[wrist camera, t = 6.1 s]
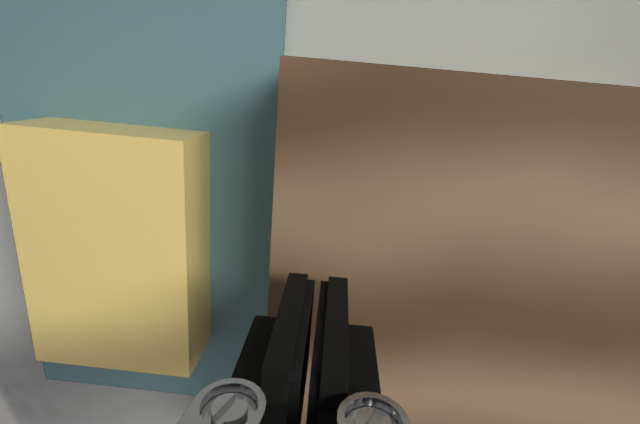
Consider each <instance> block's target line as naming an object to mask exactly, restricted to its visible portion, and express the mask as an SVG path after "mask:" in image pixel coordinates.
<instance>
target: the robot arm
mask: <svg viewBox="0 0 640 424" xmlns="http://www.w3.org/2000/svg"><path fill="white" fill-rule="evenodd" d="M314 287H315V280H310V279H308V274H300V273H289V275H288V278H287V282H286V285H285V289H284V292H283V296H282V299H281V302H280V306H279V309H278V313H277V316H276V317H271V316H261V315H256V316H255V317H254V319H253V322H252V324H251V327H250V330H249V332H248V335H247V337H246V340H245V343H244V345H243V348H242V350H241V353H240V356H239V358H238V361H237V364H236V366H235V369H234V371H233V374H232V377H231V378H227V379H221V380H218V381H216V382H213V383H211V384H209V385H208V386H206V387H205V388H203V389H202V390H201V391H200V392H199V393H198V394H197V395H196V397H195V398H194V400H193V401H192V402H191V404H190V405H189V407H188V408H187V410H186V411H185V413H184V414H183V416H182V417H181V419H180V420H179V422H178V423H177V424H301V418H302V410H303V402H304V394H305V386H306V378H307V370H308V360H309V348H310V336H311V323H312V311H313V299H314ZM306 424H411V422H410V419H409V417H408V416H407V414H406V412H405V410H404V409H403V408H402V407H401V406H400V405H399V404H398V403H397V402H396V401H394V400H392V399H391V398H389V397H387V396H385V395H382V394H381V389H380V381H379V373H378V365H377V357H376V349H375V340H374V332H373V327H372V326H362V325H352V324H349V318H348V278H341V277H331V276H329V279H328V281H321V284H320V293H319V302H318V311H317V319H316V328H315V337H314V346H313V355H312V363H311V373H310V383H309V395H308V407H307V419H306Z"/></svg>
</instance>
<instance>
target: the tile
mask: <svg viewBox="0 0 640 424" xmlns="http://www.w3.org/2000/svg"><path fill="white" fill-rule="evenodd" d="M0 160H1V166H2V171H3V177H4V183H5V188H6V194H7V199H8V205H9V211H10V216H11V222H12V227H13V233H14V239H15V244H16V250H17V256H18V261H19V267H20V272H21V278H22V284H23V289H24V295H25V300H26V306H27V312H28V317H29V323H30V328H31V334H32V340H33V345H34V351H35V357H36V361H44V362H53V363H62V364H71V365H80V366H89V367H98V368H107V369H116V370H124V371H133V372H142V373H151V374H160V375H169V376H178V377H187V378H190V376H191V374H192V372H193V370H194V368H195V366H196V364H197V363H198V361H199V359H200V357H201V355H202V353H203V351H204V349H205V347H206V345H207V343H208V342H209V340H210V338H211V277H210V132H205V131H194V130H184V129H173V128H163V127H152V126H142V125H131V124H120V123H110V122H99V121H89V120H78V119H68V118H57V117H46V118H37V119H28V120H19V121H10V122H1V123H0Z"/></svg>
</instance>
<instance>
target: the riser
mask: <svg viewBox="0 0 640 424" xmlns="http://www.w3.org/2000/svg"><path fill="white" fill-rule="evenodd" d="M289 273H300V274H308V279H310V280H315V287H314V299H313V311H312V323H311V336H310V348H309V360H308V370H307V378H306V386H305V394H304V402H303V410H302V418H301V424H306V419H307V407H308V395H309V383H310V373H311V363H312V355H313V346H314V337H315V328H316V319H317V311H318V302H319V293H320V284H321V281H328V279H329V276H331V277H341V278H348V318H349V324H352V325H362V326H372V327H373V332H374V340H375V349H376V357H377V365H378V373H379V381H380V389H381V394H382V395H385V396H387V397H389V398H391V399H392V400H394V401H396V402H397V403H398V404H399V405H400V406H401V407H402V408H403V409H404V410H405V412H406V414H407V416H408V417H409V419H410V422H411V424H640V87H633V86H621V85H610V84H599V83H587V82H576V81H565V80H554V79H542V78H531V77H520V76H509V75H497V74H486V73H475V72H464V71H452V70H441V69H430V68H419V67H407V66H396V65H385V64H373V63H362V62H351V61H340V60H328V59H317V58H306V57H295V56H283V55H280V67H279V87H278V107H277V128H276V148H275V168H274V189H273V209H272V229H271V250H270V270H269V290H268V311H267V316H271V317H276V316H277V313H278V309H279V306H280V302H281V299H282V296H283V292H284V289H285V285H286V282H287V278H288V275H289Z"/></svg>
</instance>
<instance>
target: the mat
mask: <svg viewBox="0 0 640 424" xmlns="http://www.w3.org/2000/svg"><path fill="white" fill-rule="evenodd" d="M286 6H287V0H0V114H1V120H2V122H10V121H19V120H28V119H37V118H46V117H57V118H68V119H78V120H89V121H99V122H110V123H120V124H131V125H142V126H152V127H163V128H173V129H184V130H194V131H205V132H210V277H211V338H210V340H209V342H208V343H207V345H206V347H205V349H204V351H203V353H202V355H201V357H200V359H199V361H198V363H197V364H196V366H195V368H194V370H193V372H192V374H191V376H190V378H187V377H178V376H169V375H160V374H151V373H142V372H133V371H124V370H116V369H107V368H98V367H89V366H80V365H71V364H62V363H53V362H44V361H43V364H44V370H45V376H46V379H54V380H63V381H72V382H81V383H90V384H98V385H107V386H116V387H125V388H134V389H143V390H151V391H160V392H169V393H178V394H187V395H195V396H196V395H197V394H198V393H199V392H200V391H201V390H202V389H203V388H205V387H206V386H208V385H209V384H211V383H213V382H216V381H218V380H221V379H227V378H231V377H232V374H233V371H234V369H235V366H236V364H237V361H238V358H239V356H240V353H241V350H242V348H243V345H244V343H245V340H246V337H247V335H248V332H249V330H250V327H251V324H252V322H253V319H254V317H255V316H256V315H261V316H267V311H268V290H269V270H270V250H271V229H272V209H273V189H274V168H275V148H276V128H277V107H278V87H279V67H280V55H283V56H284V44H285V25H286Z"/></svg>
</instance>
